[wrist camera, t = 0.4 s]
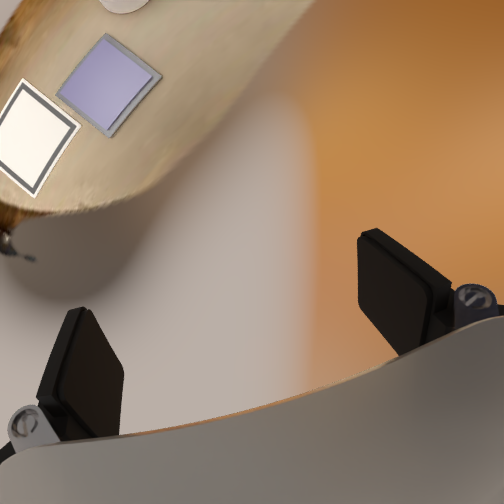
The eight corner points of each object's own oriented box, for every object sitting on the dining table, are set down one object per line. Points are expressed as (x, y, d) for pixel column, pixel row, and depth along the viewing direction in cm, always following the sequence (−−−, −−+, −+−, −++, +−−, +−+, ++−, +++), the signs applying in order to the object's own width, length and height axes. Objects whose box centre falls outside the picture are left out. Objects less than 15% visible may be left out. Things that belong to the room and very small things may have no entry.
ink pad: (58, 95, 29) (51, 94, 27) (107, 35, 28) (103, 30, 26) (111, 137, 33) (107, 139, 31) (162, 77, 31) (161, 75, 29)
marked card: (-19, 151, 29) (-20, 151, 28) (23, 78, 27) (22, 78, 26) (35, 198, 33) (34, 199, 33) (82, 125, 31) (81, 125, 31)
